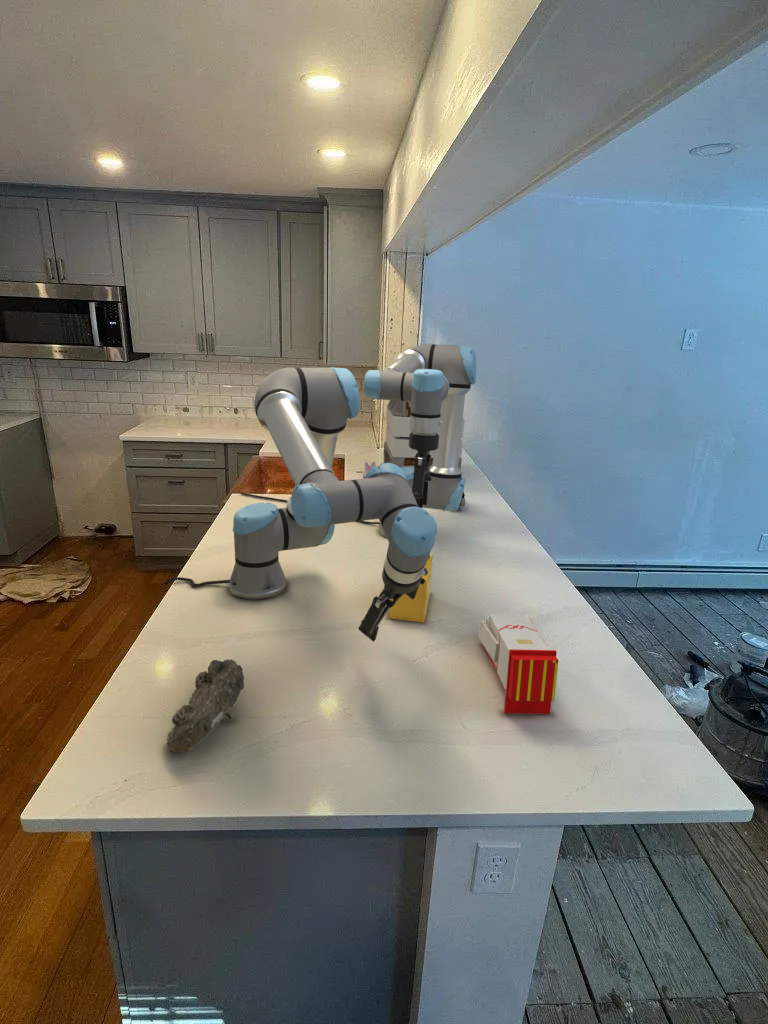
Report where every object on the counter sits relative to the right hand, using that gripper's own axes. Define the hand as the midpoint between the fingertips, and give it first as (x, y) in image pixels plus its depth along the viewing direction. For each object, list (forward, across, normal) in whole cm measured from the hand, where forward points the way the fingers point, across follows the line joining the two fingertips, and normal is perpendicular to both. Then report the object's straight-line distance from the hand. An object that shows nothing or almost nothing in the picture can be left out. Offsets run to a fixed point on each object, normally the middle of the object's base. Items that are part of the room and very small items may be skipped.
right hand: (419, 512), depth 150 cm
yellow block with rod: (+14, -6, 0) cm, 15 cm away
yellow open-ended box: (+24, -6, 0) cm, 25 cm away
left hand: (+13, -32, +2) cm, 35 cm away
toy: (+24, -31, -25) cm, 47 cm away
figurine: (+24, +81, +28) cm, 89 cm away
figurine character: (+24, +79, -7) cm, 83 cm away
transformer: (+24, +124, +12) cm, 127 cm away
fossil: (+24, -58, +32) cm, 71 cm away
